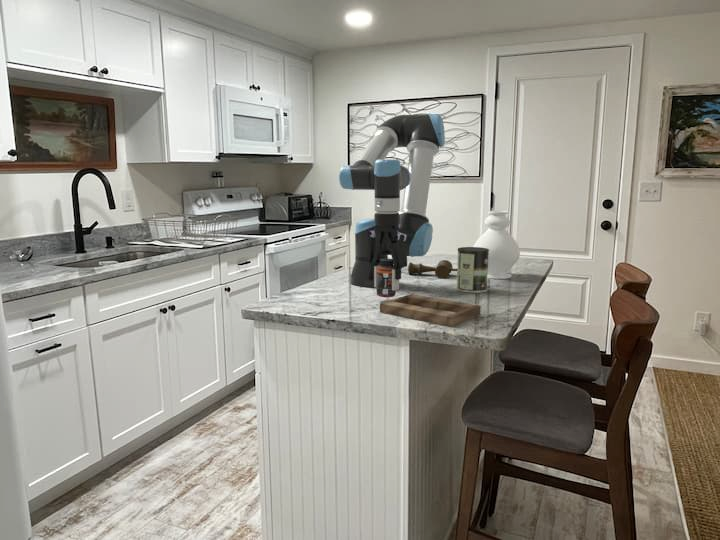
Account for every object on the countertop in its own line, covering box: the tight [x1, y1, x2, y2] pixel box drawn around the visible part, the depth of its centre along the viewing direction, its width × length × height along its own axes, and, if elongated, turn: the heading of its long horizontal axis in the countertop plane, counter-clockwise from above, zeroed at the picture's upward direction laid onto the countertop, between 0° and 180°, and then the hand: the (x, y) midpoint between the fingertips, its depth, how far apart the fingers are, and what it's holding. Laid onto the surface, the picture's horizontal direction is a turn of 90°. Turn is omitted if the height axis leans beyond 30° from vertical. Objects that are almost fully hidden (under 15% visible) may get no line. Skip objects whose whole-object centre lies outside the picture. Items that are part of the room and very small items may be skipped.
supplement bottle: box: [375, 258, 397, 298], centre depth 161 cm, size 6×6×11 cm
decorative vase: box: [472, 210, 521, 280], centre depth 203 cm, size 18×18×25 cm
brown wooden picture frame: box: [379, 293, 482, 327], centre depth 148 cm, size 23×16×2 cm
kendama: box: [407, 259, 458, 279], centre depth 204 cm, size 6×10×20 cm
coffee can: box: [456, 246, 489, 294], centre depth 178 cm, size 10×10×14 cm
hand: (386, 287), depth 162 cm, fingers closed on supplement bottle, 6 cm apart
